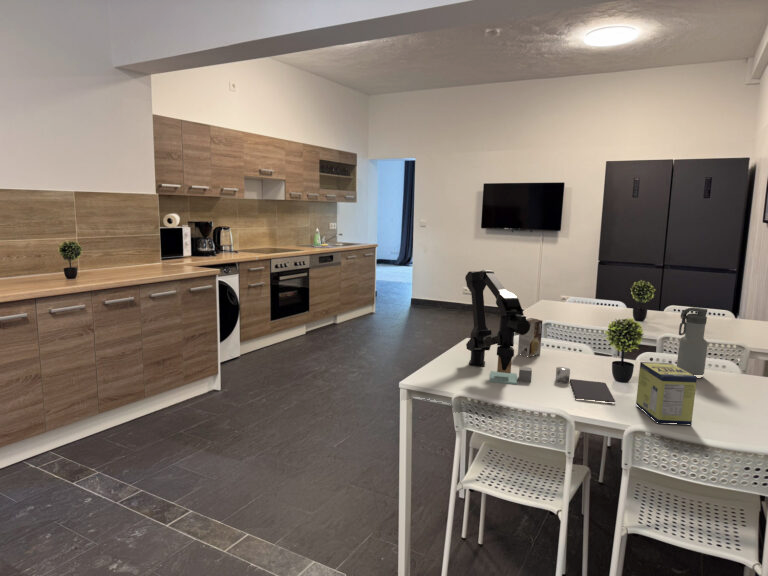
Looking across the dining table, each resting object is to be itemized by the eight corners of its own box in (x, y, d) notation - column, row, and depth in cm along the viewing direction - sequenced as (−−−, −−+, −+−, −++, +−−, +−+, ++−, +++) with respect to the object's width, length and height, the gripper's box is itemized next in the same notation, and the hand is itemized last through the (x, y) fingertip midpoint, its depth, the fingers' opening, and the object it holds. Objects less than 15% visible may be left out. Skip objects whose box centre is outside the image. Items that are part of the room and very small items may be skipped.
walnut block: (497, 368, 197) (498, 353, 196) (510, 369, 196) (511, 354, 195) (497, 372, 192) (498, 356, 192) (510, 373, 191) (511, 358, 190)
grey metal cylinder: (554, 378, 196) (555, 366, 196) (568, 380, 195) (569, 367, 195) (555, 382, 192) (557, 369, 191) (569, 384, 190) (570, 371, 190)
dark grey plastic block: (518, 377, 196) (519, 366, 196) (530, 378, 195) (531, 367, 195) (518, 381, 192) (519, 369, 192) (531, 382, 191) (531, 371, 190)
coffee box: (528, 351, 236) (531, 317, 234) (540, 354, 231) (543, 320, 229) (516, 354, 230) (519, 319, 228) (529, 357, 225) (531, 322, 223)
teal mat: (490, 372, 202) (490, 370, 202) (516, 374, 199) (516, 373, 199) (489, 381, 190) (489, 380, 190) (517, 384, 188) (517, 382, 188)
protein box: (666, 407, 169) (671, 362, 167) (692, 426, 154) (698, 377, 152) (634, 405, 170) (639, 361, 168) (657, 424, 154) (663, 375, 152)
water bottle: (671, 374, 207) (678, 307, 203) (679, 370, 213) (687, 305, 209) (698, 380, 199) (707, 311, 196) (706, 376, 206) (715, 309, 202)
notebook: (569, 382, 194) (575, 401, 173) (569, 378, 193) (576, 397, 173) (605, 386, 190) (615, 406, 170) (605, 382, 190) (615, 401, 170)
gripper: (486, 322, 203) (483, 359, 205) (484, 332, 185) (481, 373, 187) (514, 324, 200) (512, 362, 202) (515, 334, 182) (512, 376, 184)
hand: (504, 368), depth 194 cm, fingers closed on walnut block, 5 cm apart
